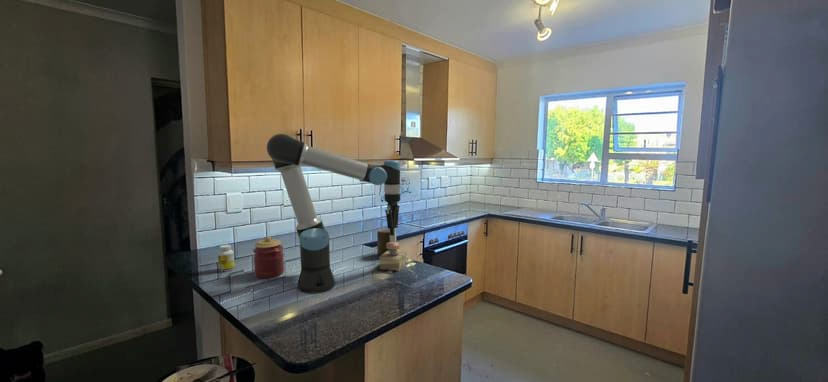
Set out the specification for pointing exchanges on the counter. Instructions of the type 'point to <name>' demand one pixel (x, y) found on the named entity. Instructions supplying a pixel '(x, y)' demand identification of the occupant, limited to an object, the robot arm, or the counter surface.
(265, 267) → the canister
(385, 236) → the pillar candle
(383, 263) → the housing
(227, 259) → the pill bottle
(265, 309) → the counter surface
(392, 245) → the knob
